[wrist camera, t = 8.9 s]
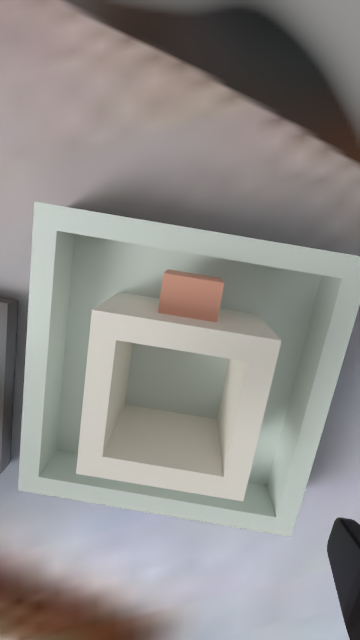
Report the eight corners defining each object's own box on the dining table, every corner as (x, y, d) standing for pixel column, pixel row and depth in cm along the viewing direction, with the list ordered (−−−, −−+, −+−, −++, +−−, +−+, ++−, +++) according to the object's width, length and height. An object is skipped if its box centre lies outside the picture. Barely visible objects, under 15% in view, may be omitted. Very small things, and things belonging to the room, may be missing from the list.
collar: (265, 282, 16) (292, 297, 12) (231, 438, 18) (243, 501, 14) (122, 259, 16) (96, 265, 12) (104, 417, 18) (75, 473, 14)
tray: (276, 493, 20) (291, 537, 17) (44, 453, 20) (17, 490, 17) (341, 255, 16) (373, 258, 14) (62, 208, 16) (34, 201, 14)
